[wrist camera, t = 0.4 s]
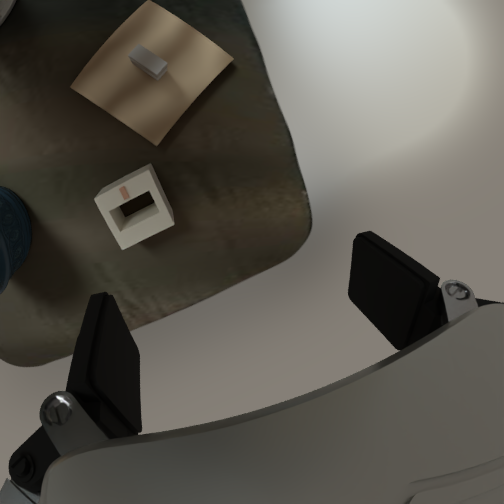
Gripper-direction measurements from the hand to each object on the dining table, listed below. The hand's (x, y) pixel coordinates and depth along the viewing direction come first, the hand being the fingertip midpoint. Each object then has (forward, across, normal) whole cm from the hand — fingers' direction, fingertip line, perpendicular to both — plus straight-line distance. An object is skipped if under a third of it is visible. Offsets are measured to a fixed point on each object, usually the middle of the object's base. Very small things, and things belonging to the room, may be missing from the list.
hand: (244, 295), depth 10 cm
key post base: (+27, +3, -14) cm, 30 cm away
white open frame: (+27, +7, +2) cm, 28 cm away
